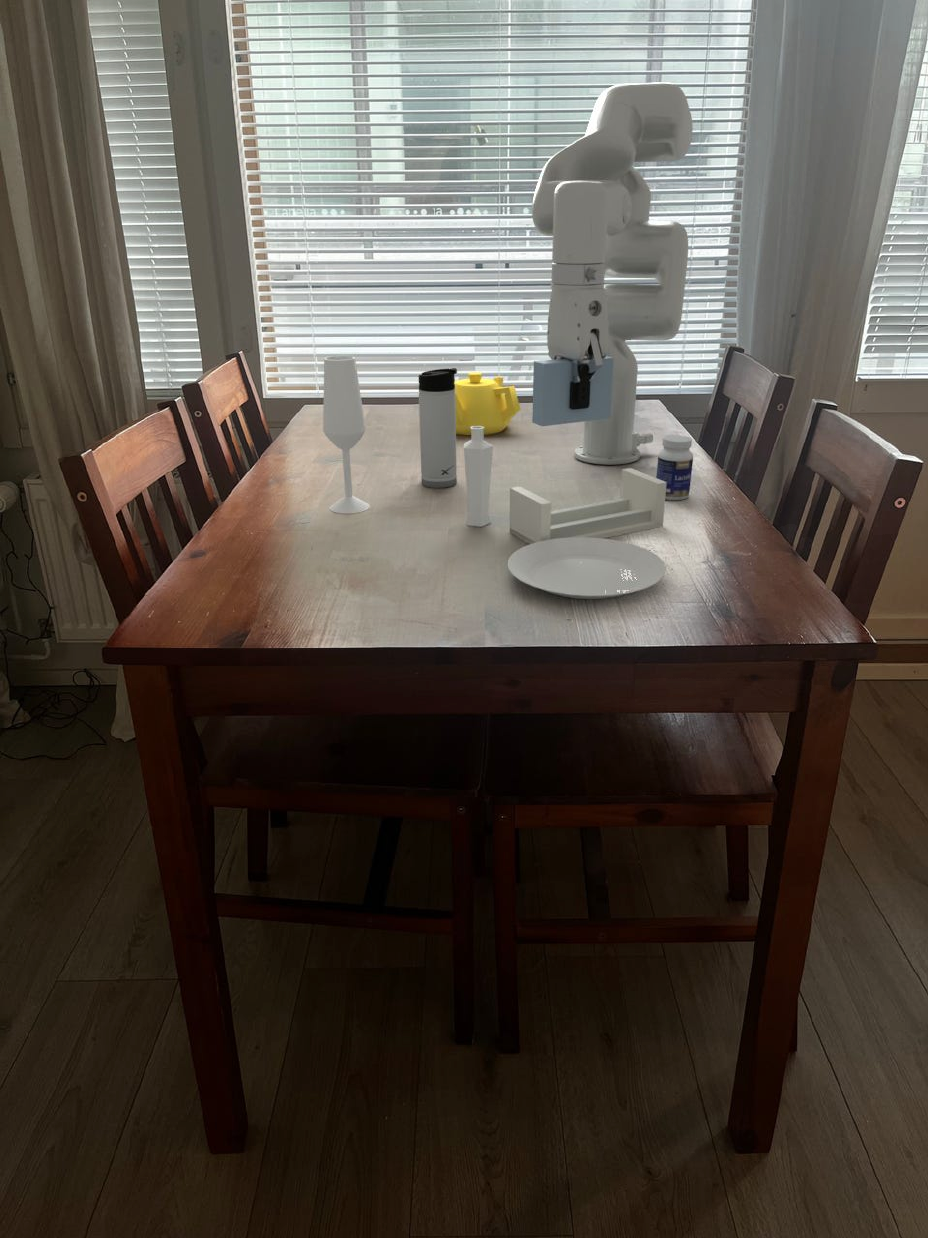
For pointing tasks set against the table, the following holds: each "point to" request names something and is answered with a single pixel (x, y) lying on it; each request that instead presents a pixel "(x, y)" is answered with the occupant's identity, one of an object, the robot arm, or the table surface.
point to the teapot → (484, 404)
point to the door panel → (555, 393)
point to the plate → (586, 567)
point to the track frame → (590, 512)
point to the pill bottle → (675, 466)
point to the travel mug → (438, 428)
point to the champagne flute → (343, 420)
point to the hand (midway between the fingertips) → (572, 405)
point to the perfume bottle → (478, 476)
